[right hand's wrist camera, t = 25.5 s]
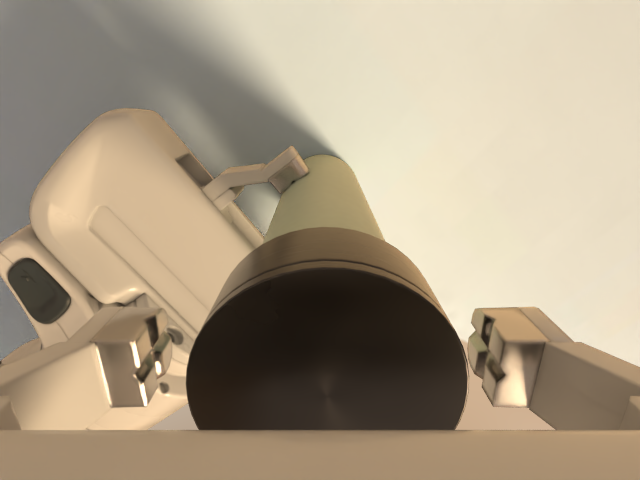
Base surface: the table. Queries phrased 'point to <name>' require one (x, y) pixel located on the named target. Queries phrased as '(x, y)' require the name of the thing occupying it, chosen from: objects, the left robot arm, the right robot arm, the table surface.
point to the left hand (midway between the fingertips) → (336, 204)
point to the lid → (327, 342)
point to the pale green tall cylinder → (323, 201)
